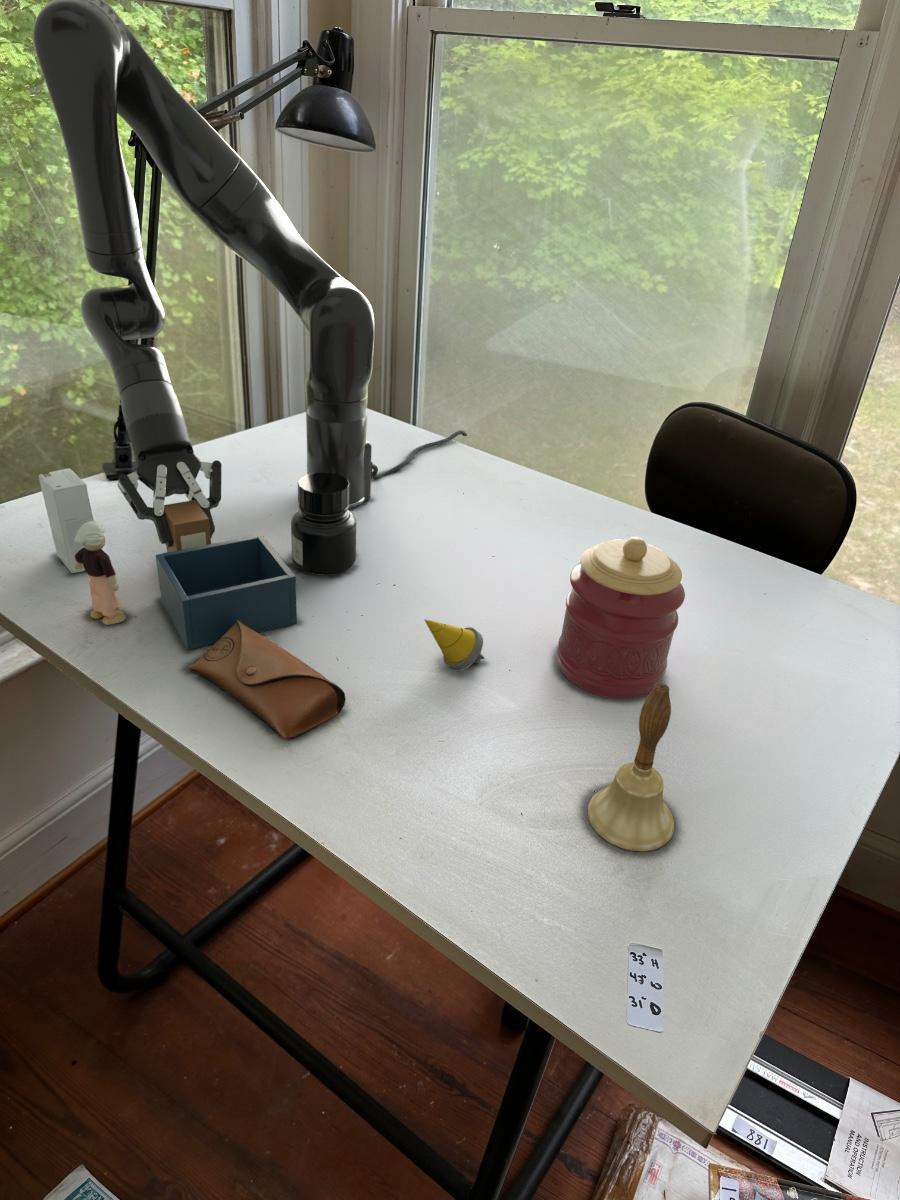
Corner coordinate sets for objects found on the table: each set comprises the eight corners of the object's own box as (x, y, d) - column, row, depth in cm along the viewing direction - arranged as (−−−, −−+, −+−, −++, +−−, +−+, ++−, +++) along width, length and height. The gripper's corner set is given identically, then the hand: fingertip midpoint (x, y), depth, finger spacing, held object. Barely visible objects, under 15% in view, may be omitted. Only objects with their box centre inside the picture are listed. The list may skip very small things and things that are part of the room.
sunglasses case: (180, 666, 95) (202, 612, 95) (226, 669, 101) (247, 618, 101) (287, 743, 86) (312, 683, 86) (331, 740, 92) (354, 685, 92)
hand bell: (576, 832, 80) (605, 700, 71) (599, 777, 86) (629, 649, 78) (664, 864, 77) (705, 731, 69) (681, 805, 84) (720, 676, 75)
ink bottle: (306, 540, 123) (304, 464, 117) (364, 550, 122) (366, 473, 116) (281, 572, 115) (278, 492, 109) (343, 583, 114) (344, 503, 108)
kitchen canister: (536, 646, 105) (556, 519, 96) (624, 629, 110) (651, 506, 100) (591, 711, 95) (619, 576, 86) (685, 689, 100) (722, 559, 90)
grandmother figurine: (141, 616, 104) (127, 524, 97) (118, 631, 101) (103, 537, 94) (93, 598, 107) (76, 507, 100) (69, 612, 104) (51, 520, 97)
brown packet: (200, 551, 118) (195, 499, 114) (213, 572, 114) (209, 518, 110) (167, 557, 116) (161, 505, 112) (180, 579, 112) (173, 525, 108)
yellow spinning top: (485, 685, 98) (427, 642, 93) (457, 679, 103) (400, 637, 97) (505, 645, 100) (449, 600, 95) (476, 641, 104) (421, 598, 99)
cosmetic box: (104, 566, 113) (90, 483, 107) (69, 575, 111) (53, 491, 104) (87, 547, 117) (73, 466, 111) (53, 555, 115) (37, 473, 108)
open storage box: (264, 579, 114) (261, 534, 110) (297, 623, 105) (296, 576, 102) (161, 601, 107) (155, 554, 104) (187, 650, 99) (182, 601, 95)
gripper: (101, 417, 108) (136, 543, 106) (212, 404, 114) (247, 522, 112) (98, 441, 114) (132, 560, 112) (203, 428, 121) (237, 540, 119)
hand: (189, 541), depth 112 cm, fingers closed on brown packet, 4 cm apart
